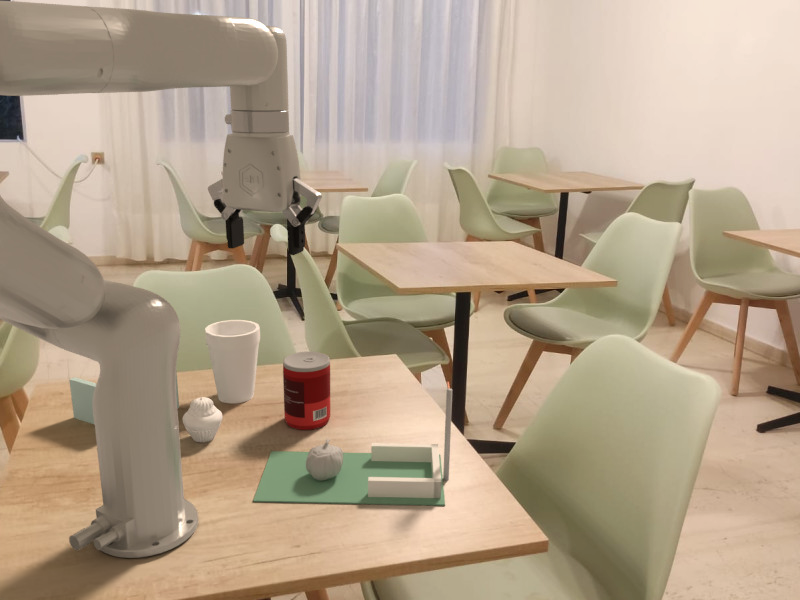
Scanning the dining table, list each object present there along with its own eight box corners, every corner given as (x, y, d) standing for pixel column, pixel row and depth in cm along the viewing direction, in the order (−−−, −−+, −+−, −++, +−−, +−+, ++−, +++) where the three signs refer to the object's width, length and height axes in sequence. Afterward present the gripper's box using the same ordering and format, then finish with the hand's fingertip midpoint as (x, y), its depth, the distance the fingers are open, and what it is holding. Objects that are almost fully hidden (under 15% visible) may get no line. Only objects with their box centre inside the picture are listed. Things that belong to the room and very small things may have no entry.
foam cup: (221, 384, 138) (217, 318, 134) (268, 387, 137) (266, 321, 133) (201, 405, 129) (196, 335, 125) (251, 409, 128) (248, 338, 124)
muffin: (183, 432, 119) (180, 392, 117) (221, 427, 121) (219, 388, 119) (184, 449, 113) (181, 407, 111) (225, 444, 115) (223, 403, 113)
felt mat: (253, 501, 100) (253, 500, 99) (271, 452, 113) (271, 451, 113) (444, 505, 99) (445, 504, 99) (440, 455, 113) (440, 454, 113)
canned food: (334, 411, 127) (334, 352, 124) (325, 432, 120) (324, 369, 117) (291, 409, 128) (289, 349, 125) (279, 429, 120) (277, 367, 117)
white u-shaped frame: (368, 498, 101) (368, 404, 97) (371, 458, 111) (372, 373, 108) (450, 499, 101) (454, 406, 97) (446, 460, 111) (450, 374, 108)
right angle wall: (179, 409, 128) (176, 369, 126) (125, 437, 118) (120, 394, 116) (130, 395, 134) (126, 356, 131) (74, 420, 123) (69, 379, 121)
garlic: (324, 461, 110) (324, 430, 109) (352, 472, 107) (352, 440, 106) (296, 478, 105) (296, 445, 104) (325, 490, 102) (324, 456, 101)
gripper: (189, 123, 97) (197, 249, 102) (304, 128, 91) (307, 261, 96) (222, 120, 104) (228, 239, 109) (331, 125, 98) (333, 250, 103)
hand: (265, 249), depth 103 cm, fingers open, 9 cm apart
